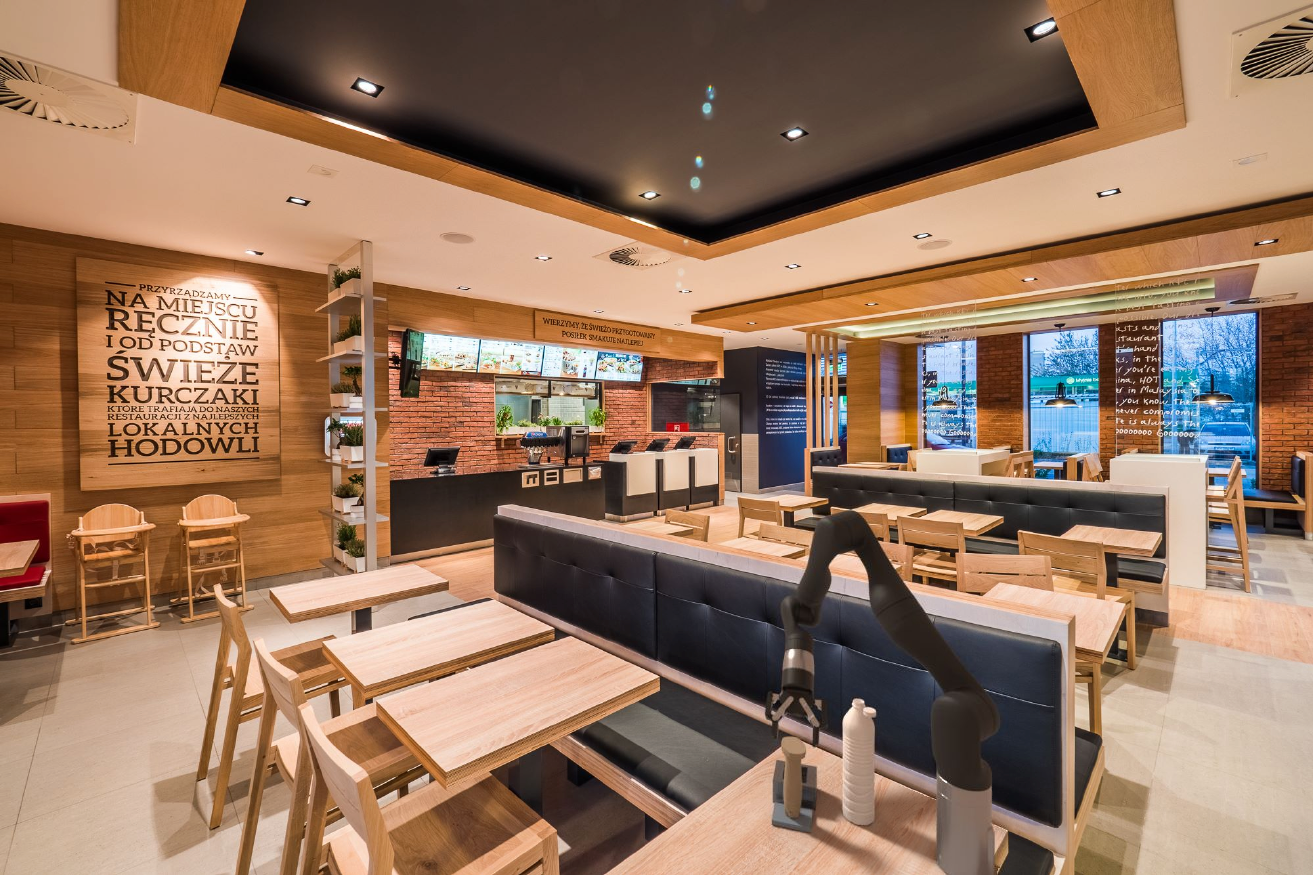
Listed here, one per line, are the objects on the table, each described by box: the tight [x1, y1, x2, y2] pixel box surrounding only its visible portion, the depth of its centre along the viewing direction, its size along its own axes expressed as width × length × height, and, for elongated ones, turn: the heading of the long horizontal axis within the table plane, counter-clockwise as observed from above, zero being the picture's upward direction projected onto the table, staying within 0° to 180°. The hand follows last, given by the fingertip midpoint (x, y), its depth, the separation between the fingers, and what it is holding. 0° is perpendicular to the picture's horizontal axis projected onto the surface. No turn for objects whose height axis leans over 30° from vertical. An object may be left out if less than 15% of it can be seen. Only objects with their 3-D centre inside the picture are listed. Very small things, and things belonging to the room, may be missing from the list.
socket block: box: [772, 759, 818, 811], centre depth 129 cm, size 9×8×5 cm
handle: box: [780, 736, 807, 818], centre depth 121 cm, size 5×6×15 cm
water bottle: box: [841, 698, 877, 826], centre depth 121 cm, size 9×6×25 cm
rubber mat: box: [771, 802, 813, 834], centre depth 121 cm, size 8×6×1 cm
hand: (794, 743), depth 129 cm, fingers open, 8 cm apart
